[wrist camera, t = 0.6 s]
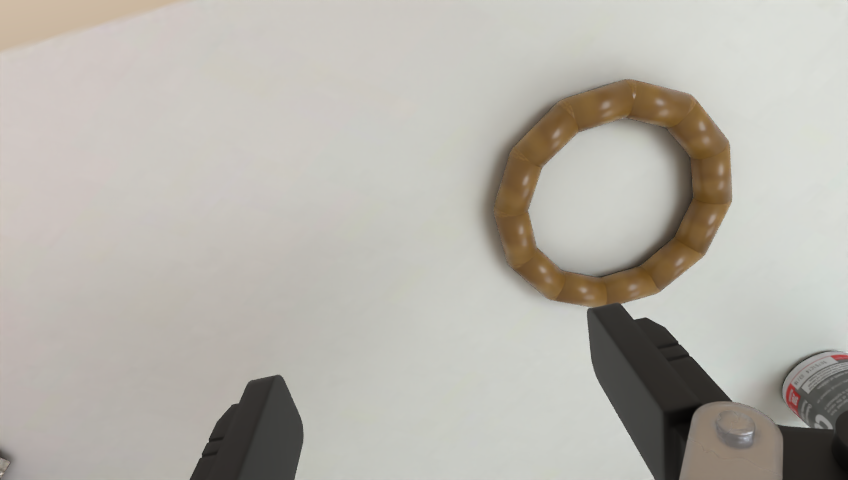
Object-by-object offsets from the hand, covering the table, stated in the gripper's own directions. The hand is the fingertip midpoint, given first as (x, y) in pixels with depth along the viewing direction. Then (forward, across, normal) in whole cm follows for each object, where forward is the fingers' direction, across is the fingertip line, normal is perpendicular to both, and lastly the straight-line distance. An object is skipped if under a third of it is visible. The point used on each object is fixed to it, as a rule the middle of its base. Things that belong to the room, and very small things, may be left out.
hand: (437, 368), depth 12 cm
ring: (+11, -9, +2) cm, 15 cm away
